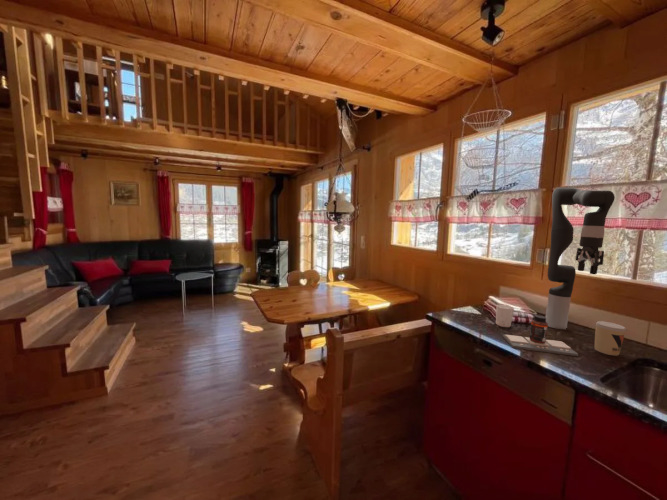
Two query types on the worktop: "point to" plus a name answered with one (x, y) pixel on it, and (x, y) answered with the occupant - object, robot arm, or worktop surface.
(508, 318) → the white cup
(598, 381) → the worktop surface
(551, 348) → the tile board
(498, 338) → the worktop surface
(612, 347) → the coffee cup
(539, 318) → the supplement bottle
